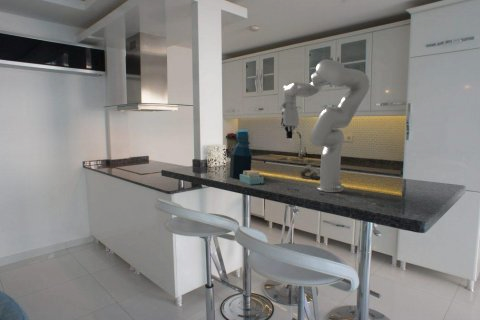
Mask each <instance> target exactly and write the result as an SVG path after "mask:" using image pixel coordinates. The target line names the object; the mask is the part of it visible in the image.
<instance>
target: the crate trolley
mask: <svg viewBox="0 0 480 320" xmlns="http://www.w3.org/2000/svg"><path fill="white" fill-rule="evenodd" d="M243 175H246V176H249V177H251V178H255V177H260V171H259V170H252V169H251V171H243Z"/></svg>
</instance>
